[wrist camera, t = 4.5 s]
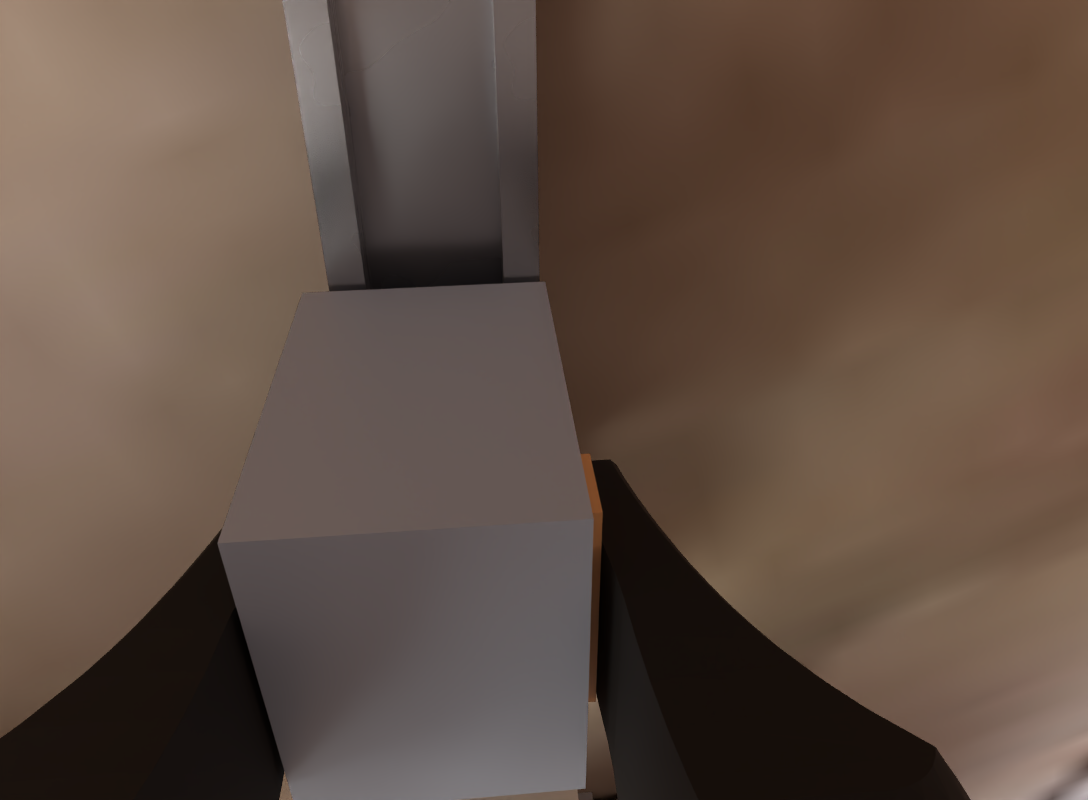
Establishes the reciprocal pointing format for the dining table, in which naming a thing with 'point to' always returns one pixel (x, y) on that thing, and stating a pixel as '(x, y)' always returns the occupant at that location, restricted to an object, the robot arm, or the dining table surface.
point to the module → (420, 549)
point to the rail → (420, 138)
